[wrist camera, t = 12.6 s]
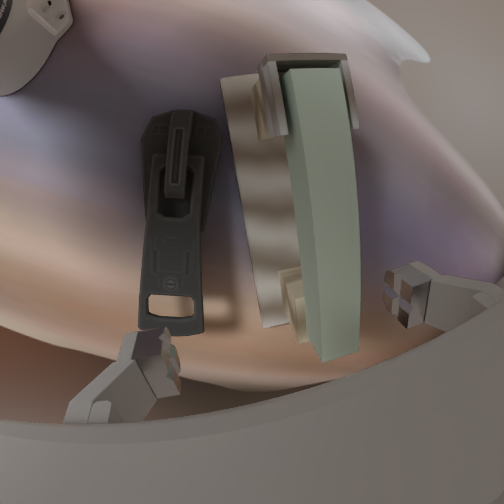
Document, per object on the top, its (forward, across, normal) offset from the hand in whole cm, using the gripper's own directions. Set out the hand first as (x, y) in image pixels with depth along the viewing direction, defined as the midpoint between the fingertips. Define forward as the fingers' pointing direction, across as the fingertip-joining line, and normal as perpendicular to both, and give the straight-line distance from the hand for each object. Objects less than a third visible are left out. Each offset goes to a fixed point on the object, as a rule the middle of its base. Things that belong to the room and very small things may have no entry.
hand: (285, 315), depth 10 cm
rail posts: (+26, -8, +3) cm, 27 cm away
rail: (+17, -8, +2) cm, 19 cm away
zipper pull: (+27, +6, +2) cm, 27 cm away
